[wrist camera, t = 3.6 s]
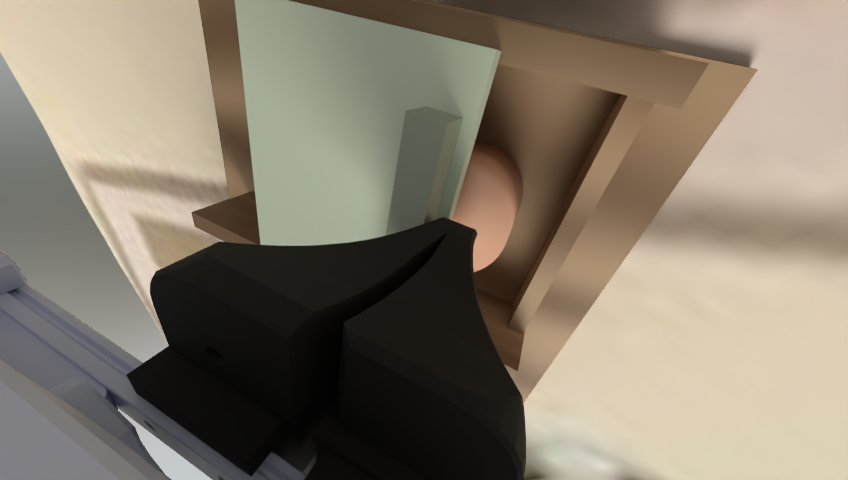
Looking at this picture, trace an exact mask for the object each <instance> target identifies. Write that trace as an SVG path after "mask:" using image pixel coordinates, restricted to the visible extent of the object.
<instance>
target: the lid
mask: <svg viewBox="0 0 848 480" xmlns="http://www.w3.org/2000/svg"><path fill="white" fill-rule="evenodd" d="M235 9H236V18H237V27H238V37H239V46H240V56H241V65H242V75H243V84H244V93H245V103H246V112H247V122H248V131H249V140H250V150H251V159H252V169H253V178H254V188H255V197H256V206H257V216H258V225H259V235H260V244H261V245H276V246H309V245H326V244H337V243H348V242H355V241H362V240H368V239H373V238H377V237H382V236H386V235H389V234H393V233H397V232H400V231H404V230H407V229H410V228H413V227H416V226H419V225H422V224H425V223H428V222H430V221H433V220H436V219H439V218H442V217H445V218H448V219H450V220H452V219H453V215H454V212H455V208H456V205H457V201H458V198H459V195H460V191H461V188H462V184H463V181H464V178H465V174H466V171H467V167H468V164H469V160H470V157H471V154H472V150H473V147H474V143H475V140H476V137H477V133H478V130H479V126H480V123H481V119H482V116H483V113H484V109H485V106H486V102H487V99H488V95H489V92H490V89H491V85H492V82H493V78H494V75H495V72H496V68H497V65H498V61H499V58H500V54H501V51H499V50H497V49H492V48H488V47H484V46H480V45H476V44H471V43H467V42H463V41H459V40H454V39H450V38H446V37H442V36H437V35H433V34H429V33H425V32H420V31H416V30H412V29H408V28H403V27H399V26H395V25H391V24H386V23H382V22H378V21H374V20H370V19H365V18H361V17H357V16H353V15H348V14H344V13H340V12H336V11H331V10H327V9H323V8H319V7H314V6H310V5H306V4H302V3H297V2H293V1H289V0H235Z"/></svg>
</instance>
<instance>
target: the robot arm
mask: <svg viewBox="0 0 848 480" xmlns="http://www.w3.org/2000/svg"><path fill="white" fill-rule="evenodd" d="M476 237H477V231H476V229H473V228H471V227H468V226H465V225H463V224H460V223H458V222H455V221H453V220H450V219H448V218H445V217H442V218H439V219H436V220H433V221H430V222H428V223H425V224H422V225H419V226H416V227H413V228H410V229H407V230H404V231H400V232H397V233H393V234H389V235H386V236H382V237H377V238H373V239H368V240H362V241H355V242H348V243H337V244H326V245H309V246H276V245H257V244H242V243H229V242H217V243H215V244H213V245H211V246H209V247H207V248H205V249H203V250H201V251H198V252H196V253H194V254H192V255H190V256H188V257H186V258H184V259H182V260H179V261H177V262H175V263H173V264H171V265H169V266H167V267H165V268H163V269H160V270H158V271H156V272H155V274H154V276H153V278H152V280H151V283H150V295H151V298H152V302H153V305H154V308H155V310H156V313H157V316H158V318H159V321H160V323H161V326H162V329H163V331H164V334H165V336H166V339H167V342H168V344H169V346H168V347H167V348H165V349H164V350H162V351H161V352H159V353H158V354H156V355H155V356H153V357H152V358H150V359H149V360H148V361H146V362H144V363H142V362H141V361H139V360H138V359H136V358H135V357H133V356H132V355H130V354H129V353H128V352H126V351H125V350H123V349H122V348H120V347H119V346H117V345H116V344H114V343H113V342H111V341H110V340H109V339H107V338H105V337H104V336H103V335H101V334H99V333H98V332H97V331H95V330H94V329H93V328H91V327H89V326H88V325H86V324H85V323H84V322H82V321H81V320H79V319H78V318H76V317H75V316H74V315H72V314H71V313H69V312H68V311H66V310H64V309H63V308H62V307H60V306H59V305H57V304H56V303H55V302H53V301H52V300H50V299H49V298H47V297H46V296H44V295H43V294H42V293H40V292H38V291H37V290H35V289H34V288H33V287H31V286H30V285H28V284H27V279H26V277H25V276H24V274H23V273H22V271H21V269H20V268H19V267H18V265H17V264H16V263H15V262H14V261H13V260H12V259H11V257H10V256H8V255H7V254H6V253H5V252H3V251H2V250H0V480H171V479H170V478H169V477H167V476H166V475H165V474H164V473H163V471H162V470H161V469H160V468H159V466H158V465H157V464H156V462H155V461H154V460H153V459H152V457H151V456H150V455H149V453H148V451H147V450H146V448H145V447H144V446H143V444H142V442H141V441H140V439H139V436H138V434H137V432H136V429H135V427H134V426H133V425H132V424H131V423H130V422H129V421H128V420H127V419H126V418H125V417H124V416H123V415H122V414H121V413H120V412H119V411H118V408H119V409H120V410H121V411H123V412H124V413H125V414H127V415H128V416H129V417H131V418H132V419H133V420H135V421H136V422H137V423H139V424H140V425H141V426H143V427H144V428H145V429H146V430H148V431H149V432H150V433H152V434H153V435H155V436H156V437H157V438H158V439H160V440H161V441H162V442H164V443H165V444H166V445H168V446H169V447H170V448H172V449H173V450H174V451H176V452H177V453H178V454H180V455H181V456H182V457H184V458H185V459H186V460H188V461H189V462H190V463H191V464H193V465H194V466H195V467H197V468H198V469H199V470H201V471H202V472H203V473H205V474H206V475H207V476H209V477H210V478H211V479H213V480H524V473H525V464H526V432H525V416H524V405H523V397H522V395H521V393H520V391H519V390H518V388H517V386H516V385H515V383H514V381H513V379H512V378H511V376H510V374H509V372H508V371H507V369H506V367H505V366H504V364H503V362H502V360H501V358H500V356H499V354H498V352H497V350H496V347H495V345H494V343H493V341H492V338H491V335H490V333H489V330H488V328H487V325H486V322H485V320H484V317H483V314H482V311H481V307H480V304H479V300H478V295H477V291H476V286H475V279H474V270H473V247H474V242H475V240H476Z"/></svg>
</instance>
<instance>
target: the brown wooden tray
mask: <svg viewBox="0 0 848 480" xmlns="http://www.w3.org/2000/svg"><path fill="white" fill-rule="evenodd" d="M198 1H199V7H200V13H201V20H202V26H203V32H204V39H205V45H206V52H207V58H208V64H209V71H210V77H211V83H212V90H213V96H214V102H215V109H216V115H217V121H218V128H219V134H220V141H221V147H222V153H223V160H224V166H225V172H226V179H227V185H228V191H229V198H230V199H228V200H225V201H222V202H220V203H217V204H214V205H211V206H208V207H205V208H203V209H200V210H197V211H194V212H192V216H193V221H194V225H195V227H197V228H199V229H201V230H203V231H205V232H207V233H209V234H211V235H213V236H215V237H217V238H219V239H221V240H223V241H225V242H229V243H242V244H257V245H261V244H260V235H259V225H258V216H257V206H256V197H255V188H254V178H253V169H252V159H251V150H250V140H249V131H248V122H247V112H246V103H245V93H244V84H243V75H242V65H241V56H240V46H239V37H238V27H237V18H236V9H235V0H198ZM289 1H293V2H297V3H302V4H306V5H310V6H314V7H319V8H323V9H327V10H331V11H336V12H340V13H344V14H348V15H353V16H357V17H361V18H365V19H370V20H374V21H378V22H382V23H386V24H391V25H395V26H399V27H403V28H408V29H412V30H416V31H420V32H425V33H429V34H433V35H437V36H442V37H446V38H450V39H454V40H459V41H463V42H467V43H471V44H476V45H480V46H484V47H488V48H492V49H497V50H499V51H501V54H500V58H499V61H498V65H497V68H496V72H495V75H494V78H493V82H492V85H491V89H490V92H489V95H488V99H487V102H486V106H485V109H484V113H483V116H482V119H481V123H480V126H479V130H478V133H477V137H476V140H475V141H481V142H486V143H489V144H492V145H494V146H496V147H498V148H500V149H501V150H503V151H504V152H505V153H506V154H507V155H508V156H509V157H510V158H511V159H512V160H513V161H514V163H515V164H516V166H517V168H518V169H519V172H520V174H521V177H522V182H523V198H522V203H521V206H520V208H519V211H518V214H517V216H516V219H515V221H514V224H513V227H512V229H511V232H510V234H509V237H508V240H507V242H506V245H505V247H504V249H503V250H502V252H501V253H500V255H499V256H498V257H497V258H496V259H495V260H494V261H493V262H492V263H491V264H490V265H488V266H487V267H485V268H483V269H481V270H479V271H476V272H474V279H475V286H476V291H477V295H478V300H479V304H480V307H481V311H482V314H483V317H484V320H485V322H486V325H487V328H488V330H489V333H490V335H491V338H492V341H493V343H494V345H495V347H496V350H497V352H498V354H499V356H500V358H501V360H502V362H503V364H504V366H505V367H506V369H507V371H508V372H509V374H510V376H511V378H512V379H513V381H514V383H515V385H516V386H517V388H518V390H519V391H520V393H521V395H522V397H523V403H524V401H525V400H526V399H527V397H528V396H529V394H530V393H531V391H532V390H533V389H534V387H535V386H536V384H537V383H538V382H539V380H540V379H541V377H542V376H543V374H544V373H545V372H546V370H547V369H548V367H549V366H550V364H551V363H552V362H553V360H554V359H555V357H556V356H557V354H558V353H559V352H560V350H561V349H562V347H563V346H564V345H565V343H566V342H567V340H568V339H569V337H570V336H571V335H572V333H573V332H574V330H575V329H576V327H577V326H578V325H579V323H580V322H581V320H582V319H583V317H584V316H585V315H586V313H587V312H588V310H589V309H590V308H591V306H592V305H593V303H594V302H595V300H596V299H597V298H598V296H599V295H600V293H601V292H602V290H603V289H604V288H605V286H606V285H607V283H608V282H609V280H610V279H611V278H612V276H613V275H614V273H615V272H616V271H617V269H618V268H619V266H620V265H621V263H622V262H623V261H624V259H625V258H626V256H627V255H628V253H629V252H630V251H631V249H632V248H633V246H634V245H635V243H636V242H637V241H638V239H639V238H640V236H641V235H642V234H643V232H644V231H645V229H646V228H647V226H648V225H649V224H650V222H651V221H652V219H653V218H654V216H655V215H656V214H657V212H658V211H659V209H660V208H661V207H662V205H663V204H664V202H665V201H666V199H667V198H668V197H669V195H670V194H671V192H672V191H673V189H674V188H675V187H676V185H677V184H678V182H679V181H680V179H681V178H682V177H683V175H684V174H685V172H686V171H687V170H688V168H689V167H690V165H691V164H692V162H693V161H694V160H695V158H696V157H697V155H698V154H699V152H700V151H701V150H702V148H703V147H704V145H705V144H706V142H707V141H708V140H709V138H710V137H711V135H712V134H713V133H714V131H715V130H716V128H717V127H718V125H719V124H720V123H721V121H722V120H723V118H724V117H725V115H726V114H727V113H728V111H729V110H730V108H731V107H732V105H733V104H734V103H735V101H736V100H737V98H738V97H739V96H740V94H741V93H742V91H743V90H744V88H745V87H746V86H747V84H748V83H749V81H750V80H751V78H752V77H753V76H754V74H755V73H756V71H757V70H758V69H753V68H748V67H744V66H739V65H734V64H729V63H724V62H720V61H715V60H710V59H705V58H700V57H696V56H691V55H686V54H681V53H676V52H672V51H667V50H662V49H657V48H652V47H647V46H643V45H638V44H633V43H628V42H623V41H619V40H614V39H609V38H604V37H599V36H595V35H590V34H585V33H580V32H575V31H571V30H566V29H561V28H556V27H551V26H547V25H542V24H537V23H532V22H527V21H523V20H518V19H513V18H508V17H503V16H499V15H494V14H489V13H484V12H479V11H475V10H470V9H465V8H460V7H455V6H451V5H446V4H441V3H436V2H431V1H427V0H289Z"/></svg>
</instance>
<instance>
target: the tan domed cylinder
mask: <svg viewBox="0 0 848 480" xmlns="http://www.w3.org/2000/svg"><path fill="white" fill-rule="evenodd" d="M522 198H523V182H522V177H521V174H520V172H519V169H518V168H517V166H516V164H515V163H514V161H513V160H512V159H511V158H510V157H509V156H508V155H507V154H506V153H505V152H504V151H503V150H501V149H500V148H498V147H496V146H494V145H492V144H489V143H486V142H481V141H475V143H474V147H473V150H472V154H471V157H470V160H469V164H468V167H467V171H466V174H465V178H464V181H463V184H462V188H461V191H460V195H459V198H458V201H457V205H456V208H455V212H454V215H453V219H452V220H453V221H455V222H458V223H460V224H463V225H465V226H468V227H471V228H473V229H476V231H477V237H476V240H475V242H474V247H473V270H474V272H476V271H479V270H481V269H483V268H485V267H487V266H488V265H490V264H491V263H492V262H493V261H494V260H495V259H496V258H497V257H498V256H499V255H500V253H501V252H502V250H503V249H504V247H505V245H506V242H507V240H508V237H509V234H510V232H511V229H512V227H513V224H514V221H515V219H516V216H517V214H518V211H519V208H520V206H521V203H522Z"/></svg>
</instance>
